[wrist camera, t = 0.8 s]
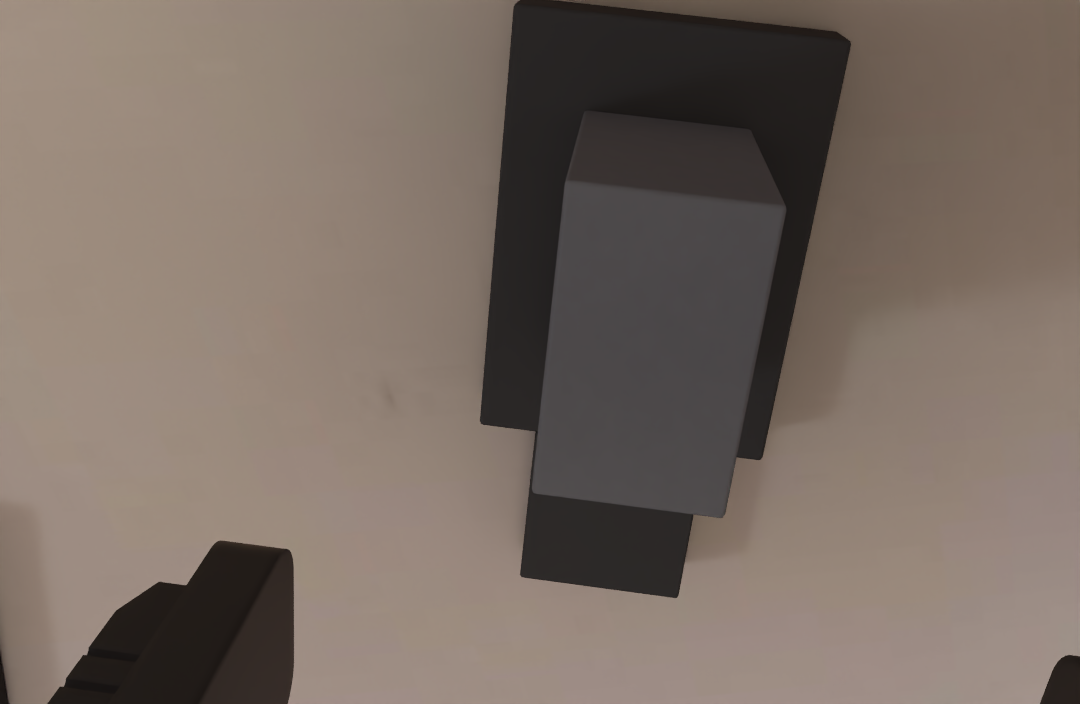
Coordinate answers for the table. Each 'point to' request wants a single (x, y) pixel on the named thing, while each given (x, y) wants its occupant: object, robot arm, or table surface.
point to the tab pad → (534, 217)
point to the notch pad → (2, 687)
